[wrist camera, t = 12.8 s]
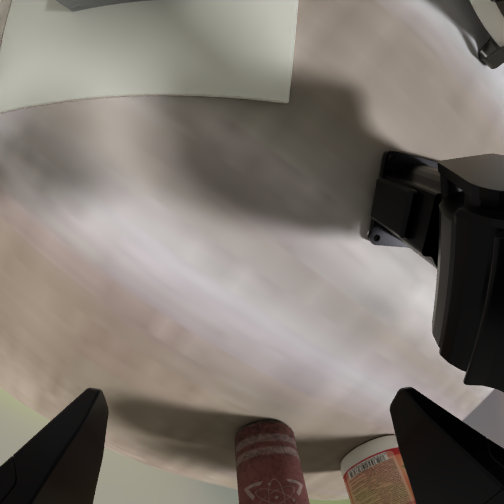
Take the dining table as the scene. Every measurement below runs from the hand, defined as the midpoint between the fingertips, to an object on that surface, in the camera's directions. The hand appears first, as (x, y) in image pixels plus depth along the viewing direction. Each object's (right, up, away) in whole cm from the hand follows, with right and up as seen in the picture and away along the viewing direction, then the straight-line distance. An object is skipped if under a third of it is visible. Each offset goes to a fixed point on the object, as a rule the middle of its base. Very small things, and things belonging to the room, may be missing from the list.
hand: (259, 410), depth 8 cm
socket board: (-7, +23, +4) cm, 24 cm away
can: (+1, -15, +20) cm, 25 cm away
